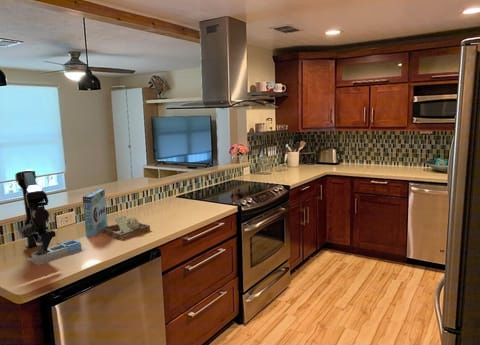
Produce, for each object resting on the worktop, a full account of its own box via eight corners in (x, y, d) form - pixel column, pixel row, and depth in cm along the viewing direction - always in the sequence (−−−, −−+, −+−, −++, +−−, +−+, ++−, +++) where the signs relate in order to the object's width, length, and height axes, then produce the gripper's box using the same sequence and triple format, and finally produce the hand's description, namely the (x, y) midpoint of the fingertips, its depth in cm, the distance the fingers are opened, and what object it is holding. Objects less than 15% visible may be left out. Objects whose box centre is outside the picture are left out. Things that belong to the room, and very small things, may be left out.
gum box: (100, 226, 222) (96, 189, 218) (108, 225, 222) (104, 189, 218) (85, 236, 203) (81, 196, 199) (94, 236, 203) (90, 196, 199)
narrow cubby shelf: (27, 260, 171) (26, 251, 170) (75, 246, 188) (74, 237, 188) (37, 267, 163) (36, 257, 163) (86, 251, 181) (85, 242, 180)
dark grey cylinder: (36, 258, 170) (34, 240, 169) (46, 255, 174) (44, 237, 172) (40, 260, 168) (38, 242, 166) (50, 257, 171) (48, 239, 170)
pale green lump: (141, 238, 204) (144, 216, 214) (134, 231, 198) (137, 209, 208) (118, 245, 207) (122, 223, 217) (110, 239, 202) (114, 216, 212)
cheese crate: (102, 233, 208) (102, 228, 207) (131, 224, 222) (130, 220, 222) (121, 239, 196) (120, 234, 195) (150, 230, 210) (149, 225, 209)
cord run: (56, 245, 190) (55, 243, 190) (58, 244, 191) (58, 242, 191) (64, 249, 184) (64, 247, 184) (66, 248, 185) (66, 246, 185)
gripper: (11, 218, 167) (15, 250, 170) (27, 225, 155) (32, 259, 158) (37, 212, 176) (41, 243, 178) (54, 218, 164) (58, 251, 166)
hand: (42, 249), depth 170 cm, fingers open, 6 cm apart
